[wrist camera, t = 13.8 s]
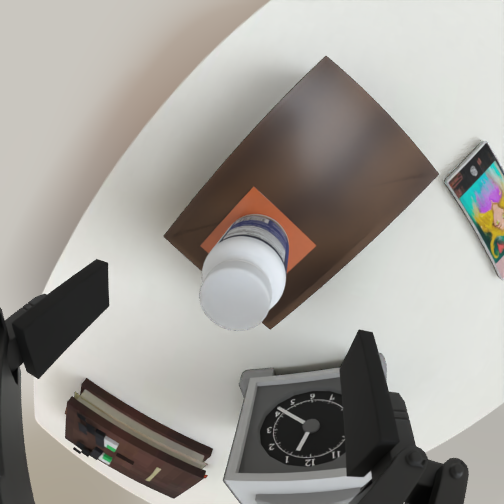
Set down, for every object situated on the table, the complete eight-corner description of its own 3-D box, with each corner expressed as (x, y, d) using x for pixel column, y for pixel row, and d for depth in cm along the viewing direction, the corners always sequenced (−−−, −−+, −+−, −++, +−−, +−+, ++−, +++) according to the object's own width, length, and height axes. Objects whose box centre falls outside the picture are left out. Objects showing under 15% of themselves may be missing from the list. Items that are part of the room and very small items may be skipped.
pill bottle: (261, 285, 27) (240, 356, 18) (213, 246, 26) (169, 301, 17) (303, 242, 25) (303, 300, 16) (253, 199, 25) (223, 235, 16)
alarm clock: (384, 350, 34) (416, 479, 17) (382, 416, 37) (398, 523, 20) (239, 370, 38) (201, 493, 21) (262, 430, 42) (241, 533, 25)
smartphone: (486, 139, 23) (537, 242, 25) (483, 139, 23) (533, 240, 25) (445, 182, 25) (502, 281, 27) (443, 180, 26) (499, 278, 28)
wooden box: (182, 222, 32) (162, 237, 27) (322, 69, 24) (326, 54, 20) (274, 304, 33) (270, 331, 29) (418, 168, 26) (440, 174, 21)
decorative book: (181, 506, 45) (54, 435, 44) (190, 480, 52) (70, 413, 51) (218, 485, 38) (53, 393, 37) (227, 451, 45) (76, 366, 44)
